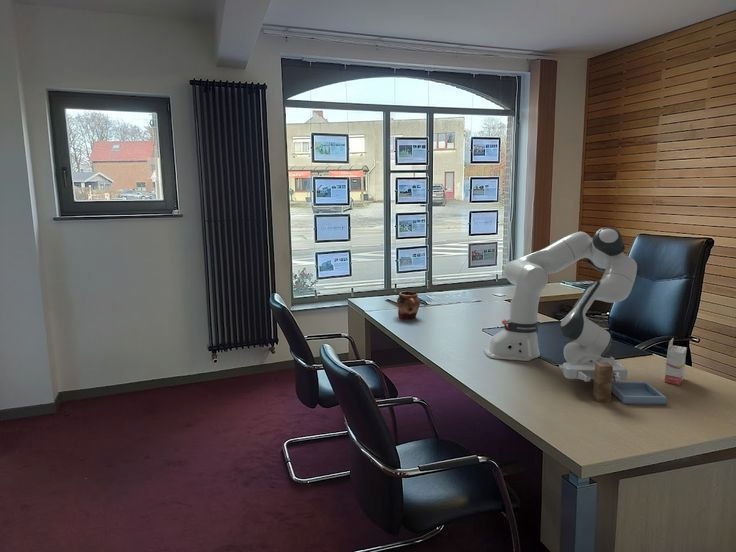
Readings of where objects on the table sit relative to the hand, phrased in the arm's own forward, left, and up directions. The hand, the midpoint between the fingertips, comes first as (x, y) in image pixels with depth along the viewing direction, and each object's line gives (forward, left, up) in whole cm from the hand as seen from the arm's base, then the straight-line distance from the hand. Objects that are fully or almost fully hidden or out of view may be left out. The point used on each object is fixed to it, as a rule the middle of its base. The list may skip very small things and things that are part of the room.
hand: (602, 379), depth 162 cm
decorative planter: (-62, +104, -7) cm, 122 cm away
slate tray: (+12, +2, -7) cm, 14 cm away
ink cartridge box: (+32, +17, -7) cm, 37 cm away
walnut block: (0, -1, -7) cm, 7 cm away
